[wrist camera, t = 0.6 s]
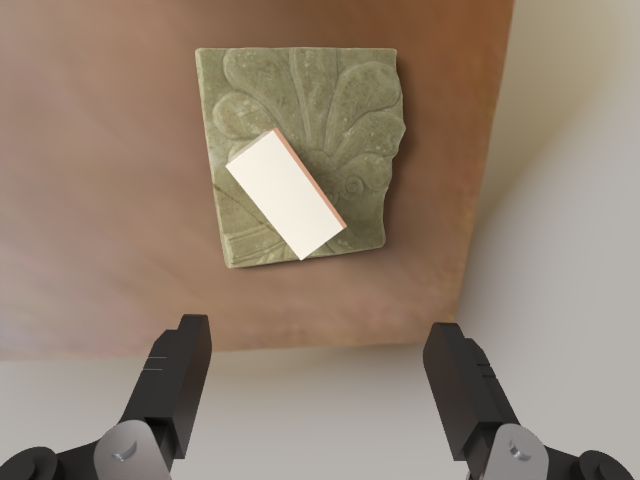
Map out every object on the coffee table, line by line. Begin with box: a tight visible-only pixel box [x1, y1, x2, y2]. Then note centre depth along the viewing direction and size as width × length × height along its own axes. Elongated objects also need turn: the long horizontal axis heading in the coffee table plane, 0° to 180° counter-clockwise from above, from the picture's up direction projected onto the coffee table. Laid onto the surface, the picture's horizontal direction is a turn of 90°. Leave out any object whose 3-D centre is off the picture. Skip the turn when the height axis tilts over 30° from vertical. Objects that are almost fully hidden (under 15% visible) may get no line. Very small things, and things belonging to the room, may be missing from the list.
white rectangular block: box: [225, 127, 347, 260], centre depth 28 cm, size 8×4×10 cm, turn 36°
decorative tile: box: [195, 47, 406, 268], centre depth 35 cm, size 19×20×4 cm
